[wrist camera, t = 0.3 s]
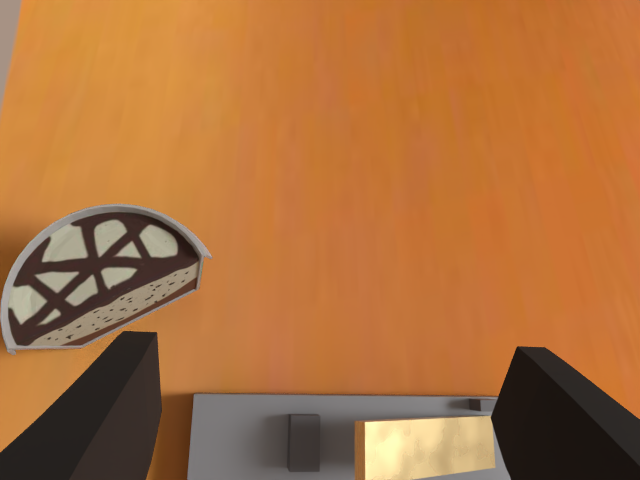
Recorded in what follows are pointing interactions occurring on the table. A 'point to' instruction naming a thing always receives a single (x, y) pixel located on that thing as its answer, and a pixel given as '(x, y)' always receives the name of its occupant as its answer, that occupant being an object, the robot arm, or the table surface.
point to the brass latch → (422, 447)
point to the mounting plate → (263, 433)
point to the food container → (97, 276)
